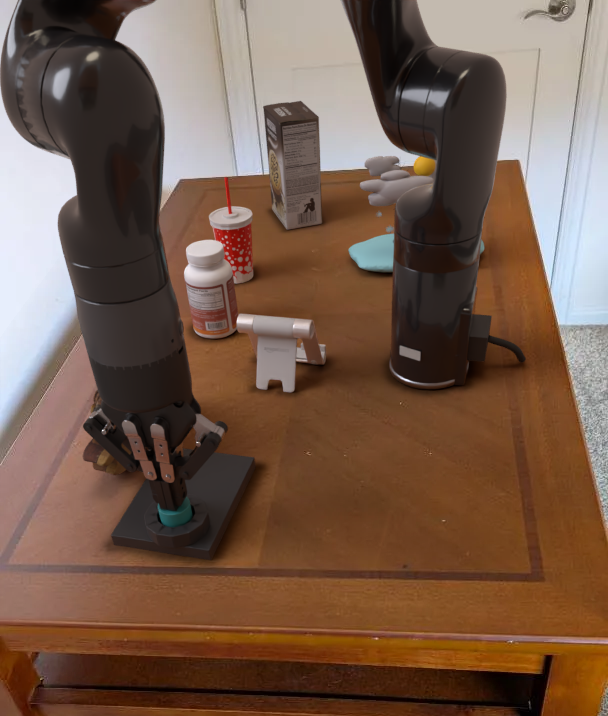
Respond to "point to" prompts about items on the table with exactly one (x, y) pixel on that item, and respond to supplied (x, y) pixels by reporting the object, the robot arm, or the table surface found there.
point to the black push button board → (208, 504)
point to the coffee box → (294, 163)
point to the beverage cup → (235, 237)
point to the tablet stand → (281, 347)
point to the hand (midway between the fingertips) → (172, 504)
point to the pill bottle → (210, 290)
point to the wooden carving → (102, 451)
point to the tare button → (176, 515)
